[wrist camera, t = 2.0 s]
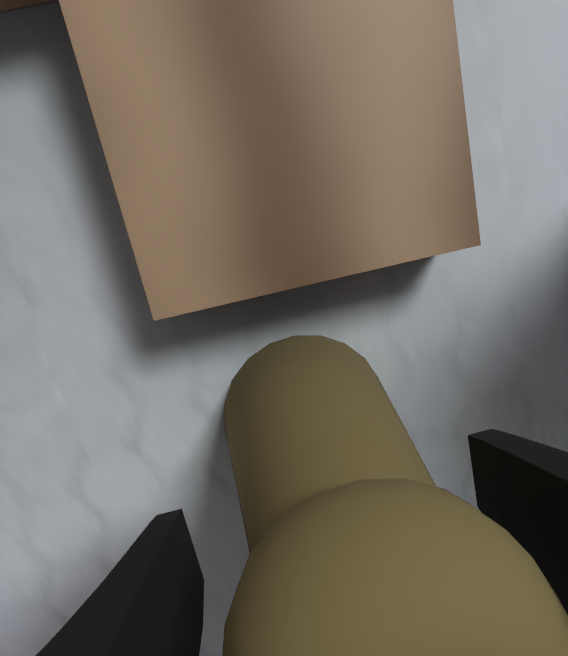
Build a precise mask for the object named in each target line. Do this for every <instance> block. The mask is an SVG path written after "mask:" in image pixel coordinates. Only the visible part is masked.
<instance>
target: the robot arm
mask: <svg viewBox="0 0 568 656" xmlns="http://www.w3.org/2000/svg"><path fill="white" fill-rule="evenodd" d="M468 440H469V447H470V454H471V462H472V469H473V477H474V484H475V491H476V499H477V506H478V508H479V510H480V511H481V513H483V514H484V515H486V516H487V517H489V518H490V519H491V520H493V521H494V522H496V523H497V524H499V525H500V526H501V527H503V528H504V529H506V530H507V531H508V532H509V533H510V534H511V535H512V537H513V538H514V539H515V540H516V541H517V542H518V543H519V544H520V545H521V546H522V547H523V548H524V549H525V550H526V551H527V552H528V553H529V554H530V555H531V557H532V558H533V559H534V561H535V562H536V564H537V565H538V567H539V569H540V570H541V572H542V573H543V575H544V576H545V578H546V579H547V581H548V582H549V584H550V585H551V587H552V589H553V590H554V592H555V593H556V595H557V597H558V598H559V600H560V602H561V604H562V605H563V607H564V609H565V611H566V613H567V614H568V452H565V451H562V450H559V449H556V448H553V447H550V446H547V445H544V444H540V443H537V442H534V441H531V440H528V439H525V438H522V437H519V436H515V435H512V434H509V433H505V432H501V431H497V430H493V429H490V430H486V431H482V432H478V433H474V434H470V435H468ZM203 605H204V579H203V575H202V572H201V569H200V566H199V563H198V559H197V556H196V553H195V550H194V547H193V543H192V540H191V537H190V534H189V531H188V527H187V524H186V521H185V518H184V515H183V511H182V509H179V510H175V511H171V512H167V513H163V514H160V515H156V517H155V518H154V519H153V520H152V521H151V522H150V523H149V525H148V526H147V527H146V528H145V530H144V531H143V532H142V533H141V535H140V536H139V537H138V538H137V540H136V541H135V542H134V543H133V545H132V546H131V547H130V548H129V550H128V551H127V552H126V554H125V555H124V556H123V557H122V558H121V560H120V561H119V562H118V563H117V565H116V566H115V567H114V568H113V570H112V571H111V572H110V573H109V575H108V576H107V577H106V578H105V579H104V581H103V582H102V583H101V584H100V585H99V587H98V588H97V589H96V590H95V591H94V592H93V593H92V595H91V596H90V597H89V598H88V599H87V600H86V601H85V603H84V604H83V605H82V606H81V607H80V608H79V609H78V611H77V612H76V613H75V614H74V615H73V616H72V617H71V619H70V620H69V621H68V622H67V623H66V624H65V625H64V627H63V628H62V629H61V630H60V631H59V632H58V633H57V634H56V635H55V636H54V637H53V638H52V639H51V640H50V641H49V643H48V644H47V645H46V646H45V647H44V648H43V649H42V650H41V651H40V652H39V653H38V654H37V655H36V656H199V651H200V644H201V636H202V628H203Z"/></svg>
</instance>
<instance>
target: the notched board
mask: <svg viewBox="0 0 568 656" xmlns="http://www.w3.org/2000/svg"><path fill="white" fill-rule="evenodd" d="M52 1H57V0H0V12H1V11H6V10H11V9H16V8H22V7H27V6H32V5H37V4H42V3H47V2H52ZM59 3H60V6H61V10H62V13H63V16H64V20H65V23H66V26H67V30H68V33H69V37H70V40H71V43H72V47H73V50H74V53H75V57H76V60H77V63H78V67H79V70H80V74H81V77H82V80H83V84H84V87H85V90H86V94H87V97H88V101H89V104H90V107H91V111H92V114H93V117H94V121H95V124H96V128H97V131H98V134H99V138H100V141H101V144H102V148H103V151H104V155H105V158H106V161H107V165H108V168H109V171H110V175H111V178H112V182H113V185H114V188H115V192H116V195H117V198H118V202H119V205H120V209H121V212H122V215H123V219H124V222H125V225H126V229H127V232H128V236H129V239H130V242H131V246H132V249H133V252H134V256H135V259H136V263H137V266H138V269H139V273H140V276H141V279H142V283H143V286H144V290H145V293H146V296H147V300H148V303H149V306H150V310H151V313H152V317H153V320H154V321H156V320H160V319H164V318H169V317H173V316H177V315H181V314H186V313H190V312H194V311H199V310H203V309H207V308H211V307H216V306H220V305H224V304H229V303H233V302H237V301H242V300H246V299H250V298H254V297H259V296H263V295H267V294H272V293H276V292H280V291H285V290H289V289H293V288H297V287H302V286H306V285H310V284H315V283H319V282H323V281H328V280H332V279H336V278H340V277H345V276H349V275H353V274H358V273H362V272H366V271H370V270H375V269H379V268H383V267H388V266H392V265H396V264H401V263H405V262H409V261H413V260H418V259H422V258H426V257H431V256H435V255H439V254H444V253H448V252H452V251H456V250H461V249H465V248H469V247H474V246H478V245H481V243H480V235H479V226H478V217H477V208H476V200H475V191H474V182H473V173H472V165H471V156H470V147H469V138H468V130H467V121H466V112H465V103H464V95H463V86H462V77H461V68H460V60H459V51H458V42H457V33H456V25H455V16H454V7H453V0H59Z"/></svg>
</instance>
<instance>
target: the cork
mask: <svg viewBox="0 0 568 656" xmlns="http://www.w3.org/2000/svg"><path fill="white" fill-rule="evenodd" d="M225 430H226V435H227V441H228V446H229V451H230V456H231V461H232V466H233V471H234V476H235V481H236V486H237V491H238V497H239V502H240V507H241V512H242V517H243V522H244V527H245V532H246V537H247V542H248V547H249V552H250V555H249V558H248V560H247V563H246V566H245V568H244V571H243V574H242V576H241V579H240V582H239V584H238V587H237V590H236V593H235V595H234V598H233V601H232V604H231V607H230V610H229V613H228V616H227V619H226V622H225V628H224V642H223V656H568V614H567V613H566V611H565V609H564V607H563V605H562V604H561V602H560V600H559V598H558V597H557V595H556V593H555V592H554V590H553V589H552V587H551V585H550V584H549V582H548V581H547V579H546V578H545V576H544V575H543V573H542V572H541V570H540V569H539V567H538V565H537V564H536V562H535V561H534V559H533V558H532V557H531V555H530V554H529V553H528V552H527V551H526V550H525V549H524V548H523V547H522V546H521V545H520V544H519V543H518V542H517V541H516V540H515V539H514V538H513V537H512V535H511V534H510V533H509V532H508V531H507V530H506V529H504V528H503V527H501V526H500V525H499V524H497V523H496V522H494V521H493V520H491V519H490V518H489V517H487V516H486V515H484V514H483V513H481V512H480V511H479V510H477V509H476V508H474V507H473V506H471V505H470V504H468V503H467V502H465V501H464V500H462V499H460V498H459V497H457V496H456V495H454V494H452V493H451V492H449V491H447V490H446V489H442V488H439V487H436V485H435V483H434V481H433V479H432V477H431V476H430V474H429V472H428V470H427V468H426V466H425V464H424V463H423V461H422V459H421V457H420V455H419V453H418V451H417V450H416V448H415V446H414V444H413V442H412V440H411V438H410V436H409V435H408V433H407V431H406V429H405V427H404V425H403V423H402V422H401V420H400V418H399V416H398V414H397V412H396V410H395V409H394V407H393V405H392V403H391V401H390V399H389V397H388V395H387V394H386V392H385V390H384V388H383V386H382V384H381V382H380V381H379V379H378V377H377V376H376V374H375V373H374V371H373V370H372V368H371V367H370V365H369V364H368V362H367V361H366V359H365V358H364V357H362V356H361V355H360V354H358V353H357V352H356V351H354V350H353V349H352V348H350V347H349V346H348V345H346V344H345V343H342V342H339V341H336V340H333V339H330V338H327V337H324V336H292V337H289V338H286V339H283V340H280V341H276V342H273V343H270V344H269V345H267V346H266V347H264V348H263V349H261V350H260V351H259V352H257V353H256V354H254V355H253V356H251V357H250V358H249V359H248V360H247V361H246V362H245V364H244V365H243V366H242V368H241V369H240V370H239V372H238V373H237V374H236V376H235V377H234V378H233V380H232V383H231V386H230V389H229V392H228V395H227V398H226V401H225Z"/></svg>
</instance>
